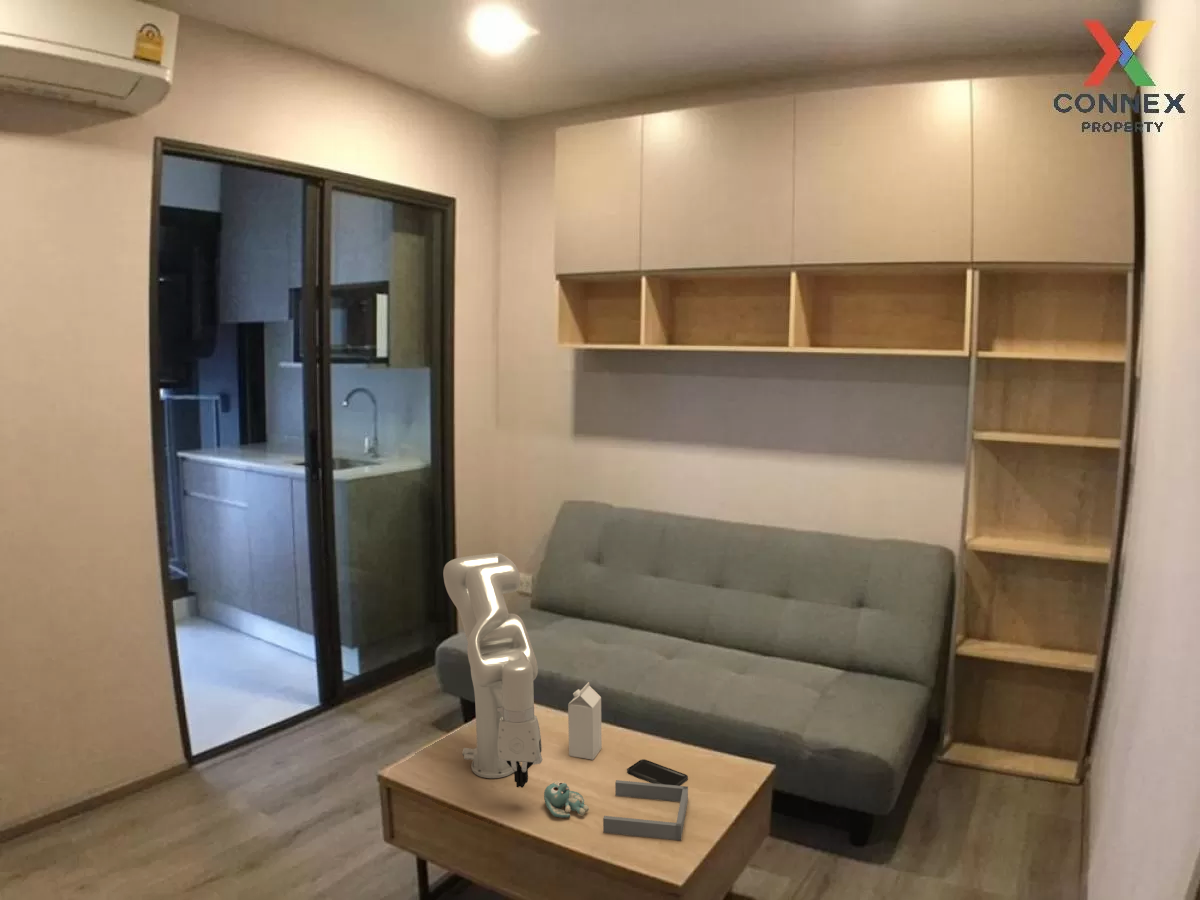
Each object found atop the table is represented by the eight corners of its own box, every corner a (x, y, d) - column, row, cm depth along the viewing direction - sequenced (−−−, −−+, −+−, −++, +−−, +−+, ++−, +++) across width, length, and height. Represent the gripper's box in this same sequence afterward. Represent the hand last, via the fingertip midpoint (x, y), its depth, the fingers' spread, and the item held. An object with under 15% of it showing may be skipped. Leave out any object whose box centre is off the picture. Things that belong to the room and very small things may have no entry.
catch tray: (603, 832, 200) (603, 818, 200) (616, 793, 217) (616, 780, 216) (681, 840, 197) (681, 826, 196) (688, 799, 213) (688, 786, 213)
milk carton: (601, 748, 240) (601, 683, 237) (593, 760, 233) (592, 693, 231) (577, 744, 242) (576, 680, 240) (568, 756, 236) (567, 690, 233)
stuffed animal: (576, 807, 201) (535, 784, 207) (571, 833, 203) (531, 810, 209) (600, 786, 210) (561, 765, 216) (596, 811, 212) (557, 790, 218)
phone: (642, 758, 233) (689, 775, 224) (642, 762, 233) (689, 779, 224) (624, 770, 227) (672, 788, 217) (625, 774, 227) (672, 792, 218)
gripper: (484, 717, 207) (487, 790, 209) (544, 720, 204) (547, 794, 206) (493, 704, 214) (496, 775, 216) (552, 708, 211) (554, 779, 213)
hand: (521, 784), depth 211 cm, fingers closed
